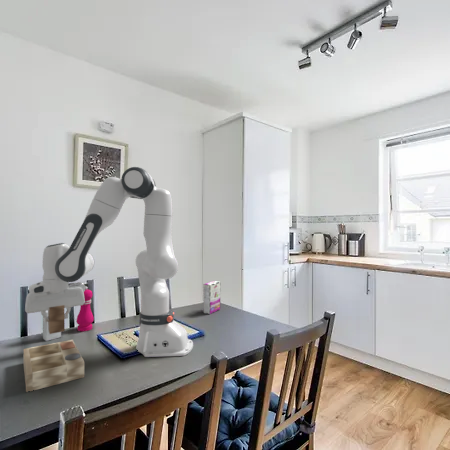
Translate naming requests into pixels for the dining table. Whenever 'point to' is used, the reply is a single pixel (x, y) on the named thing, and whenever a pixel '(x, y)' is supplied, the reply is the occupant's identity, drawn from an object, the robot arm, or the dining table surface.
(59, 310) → the plug
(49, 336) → the skincare box
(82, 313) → the pepper mill
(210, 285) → the candy bar box
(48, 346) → the tag socket block
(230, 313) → the dining table surface
